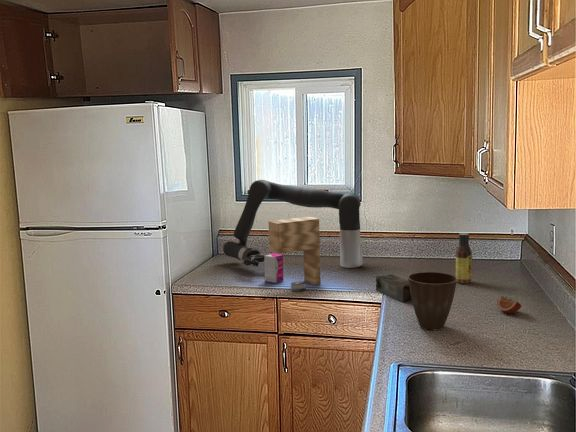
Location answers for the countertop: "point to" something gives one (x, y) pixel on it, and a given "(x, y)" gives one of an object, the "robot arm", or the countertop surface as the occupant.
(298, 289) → the dark gray cylinder
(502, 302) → the fruit slice
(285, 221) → the wooden l-shaped block
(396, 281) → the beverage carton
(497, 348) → the countertop surface
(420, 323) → the plant pot
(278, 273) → the supplement box
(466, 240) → the sauce bottle
